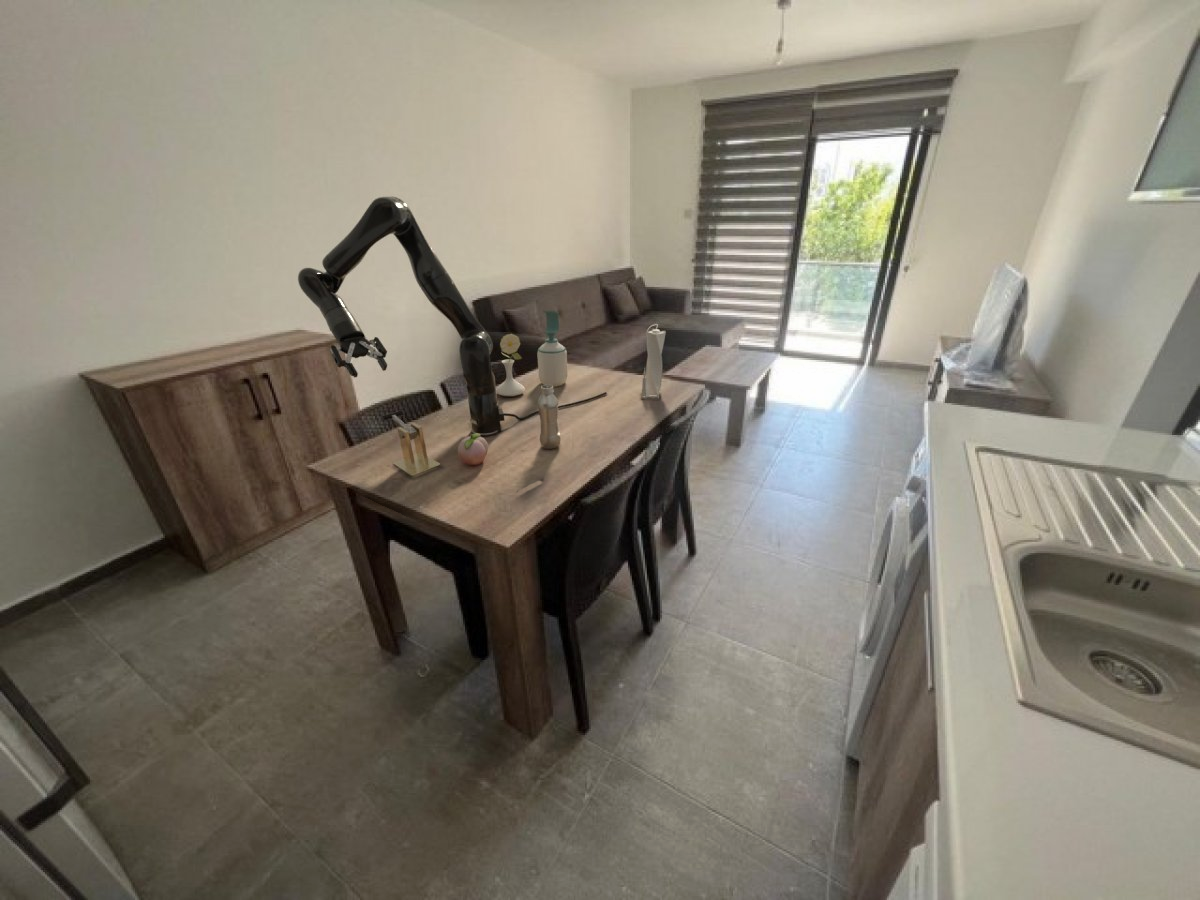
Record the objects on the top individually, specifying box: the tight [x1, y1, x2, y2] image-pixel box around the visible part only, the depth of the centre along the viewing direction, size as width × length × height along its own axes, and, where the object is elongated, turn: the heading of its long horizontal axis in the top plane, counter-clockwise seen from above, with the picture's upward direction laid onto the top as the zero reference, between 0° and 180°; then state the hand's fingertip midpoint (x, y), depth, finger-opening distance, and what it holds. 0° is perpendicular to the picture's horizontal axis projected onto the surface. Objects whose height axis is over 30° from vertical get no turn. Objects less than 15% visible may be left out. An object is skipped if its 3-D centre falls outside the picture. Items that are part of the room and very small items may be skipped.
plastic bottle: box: [536, 384, 561, 450], centre depth 147 cm, size 6×7×20 cm
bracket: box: [392, 422, 442, 477], centre depth 137 cm, size 11×9×13 cm
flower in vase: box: [496, 333, 526, 397], centre depth 189 cm, size 13×11×25 cm
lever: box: [380, 409, 417, 441], centre depth 137 cm, size 12×6×2 cm, turn 48°
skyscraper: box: [640, 323, 667, 401], centre depth 186 cm, size 8×8×28 cm
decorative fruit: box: [457, 433, 489, 466], centre depth 138 cm, size 9×8×10 cm
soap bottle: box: [536, 310, 568, 388], centre depth 200 cm, size 12×12×31 cm
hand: (371, 372), depth 139 cm, fingers open, 8 cm apart
